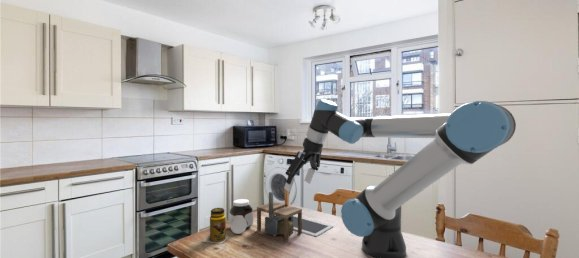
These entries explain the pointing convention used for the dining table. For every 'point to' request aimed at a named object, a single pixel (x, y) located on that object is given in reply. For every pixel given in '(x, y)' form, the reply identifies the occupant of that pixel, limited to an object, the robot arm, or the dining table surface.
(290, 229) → the stone block
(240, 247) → the dining table surface
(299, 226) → the brown wooden table
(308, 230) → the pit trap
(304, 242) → the dining table surface
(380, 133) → the robot arm
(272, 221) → the slider frame
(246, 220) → the spread jar
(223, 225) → the condiment
